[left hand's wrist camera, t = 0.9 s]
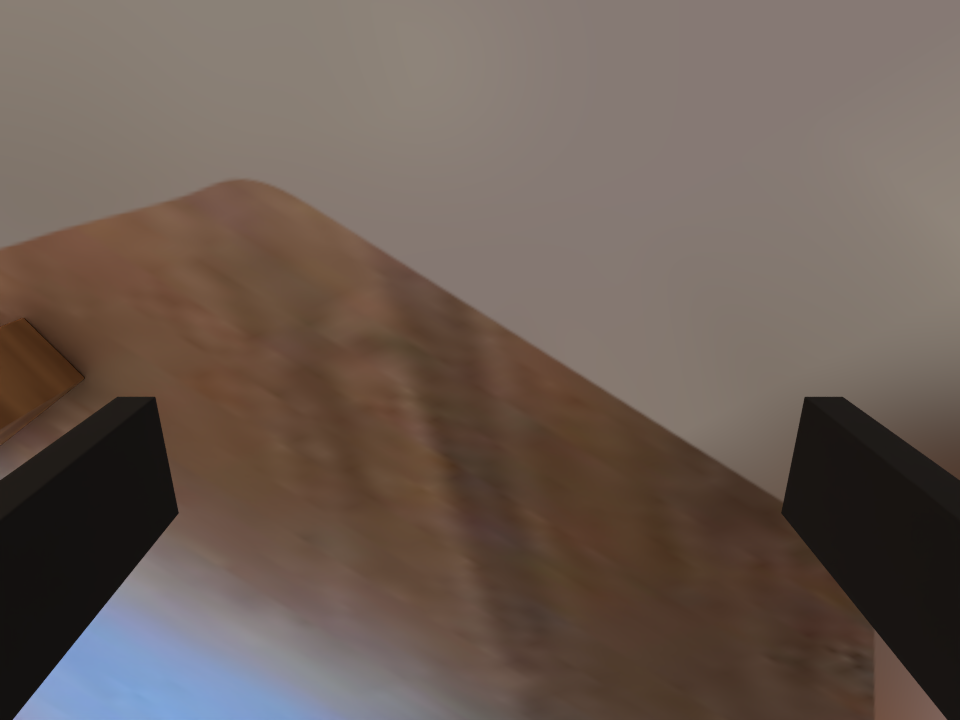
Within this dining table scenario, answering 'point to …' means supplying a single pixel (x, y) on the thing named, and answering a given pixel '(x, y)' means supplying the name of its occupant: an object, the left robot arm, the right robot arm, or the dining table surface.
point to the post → (29, 376)
